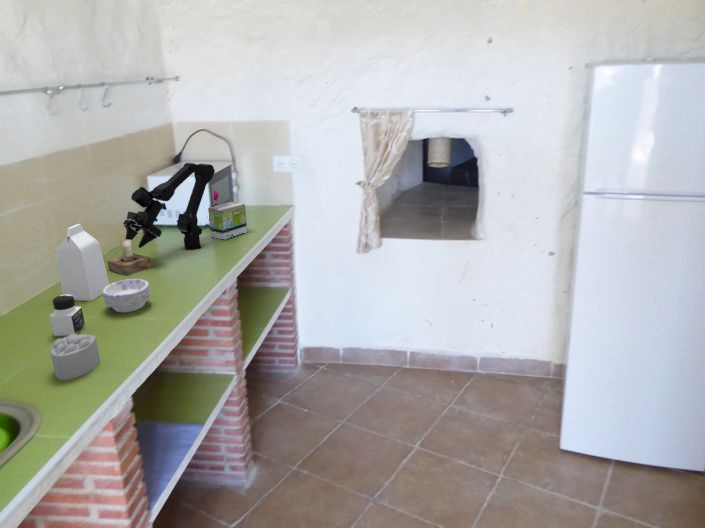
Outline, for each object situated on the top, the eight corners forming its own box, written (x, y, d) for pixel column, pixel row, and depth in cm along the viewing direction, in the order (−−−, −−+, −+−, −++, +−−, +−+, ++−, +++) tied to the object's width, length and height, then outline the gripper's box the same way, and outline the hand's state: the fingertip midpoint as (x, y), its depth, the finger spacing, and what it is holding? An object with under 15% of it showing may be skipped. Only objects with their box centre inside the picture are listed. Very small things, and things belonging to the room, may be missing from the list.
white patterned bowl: (103, 319, 201) (99, 297, 198) (108, 302, 215) (104, 281, 212) (151, 312, 205) (148, 291, 202) (153, 296, 218) (149, 276, 216)
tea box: (224, 241, 281) (221, 210, 276) (210, 237, 286) (206, 207, 281) (248, 233, 292) (245, 203, 287) (233, 230, 298) (230, 200, 293)
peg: (137, 267, 250) (132, 239, 246) (131, 270, 246) (127, 242, 242) (128, 266, 250) (124, 239, 246) (123, 270, 247) (118, 242, 243)
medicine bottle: (75, 336, 189) (68, 300, 185) (53, 336, 190) (45, 301, 185) (85, 326, 196) (78, 292, 192) (64, 326, 196) (56, 292, 192)
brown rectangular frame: (134, 261, 256) (132, 253, 255) (151, 266, 249) (150, 257, 248) (108, 270, 247) (107, 261, 246) (126, 275, 240) (124, 266, 239)
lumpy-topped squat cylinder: (104, 357, 175) (99, 330, 172) (81, 380, 163) (76, 351, 160) (70, 356, 176) (65, 329, 173) (45, 379, 164) (39, 351, 161)
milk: (91, 300, 217) (78, 231, 208) (63, 299, 219) (48, 230, 210) (110, 288, 228) (98, 222, 219) (83, 287, 230) (70, 221, 221)
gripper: (123, 200, 251) (104, 232, 246) (151, 205, 240) (131, 239, 236) (142, 214, 259) (124, 245, 255) (170, 220, 249) (151, 252, 244)
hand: (132, 245), depth 247 cm, fingers open, 9 cm apart
